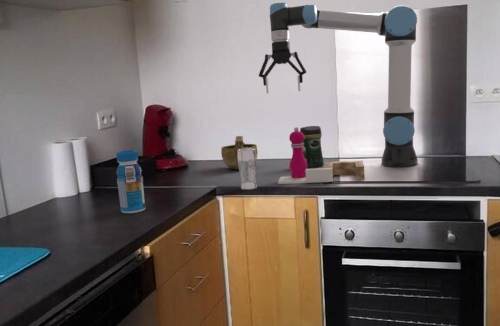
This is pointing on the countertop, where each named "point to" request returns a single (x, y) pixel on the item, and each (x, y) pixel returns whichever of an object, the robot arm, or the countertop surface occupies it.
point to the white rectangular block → (319, 175)
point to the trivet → (291, 180)
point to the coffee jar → (312, 146)
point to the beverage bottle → (130, 182)
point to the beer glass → (247, 168)
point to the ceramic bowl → (235, 152)
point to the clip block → (347, 168)
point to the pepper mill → (297, 155)
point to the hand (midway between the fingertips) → (283, 92)
